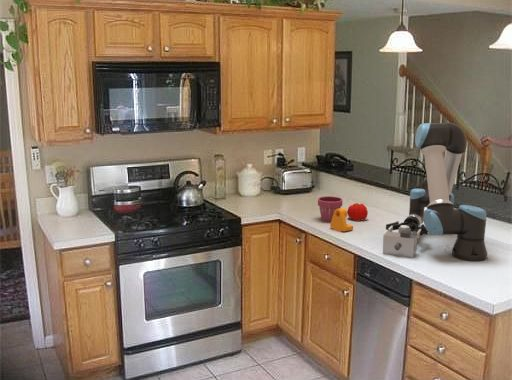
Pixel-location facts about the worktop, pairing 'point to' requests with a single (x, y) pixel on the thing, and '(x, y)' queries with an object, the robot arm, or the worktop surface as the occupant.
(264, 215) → the worktop surface
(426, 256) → the worktop surface
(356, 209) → the tomato
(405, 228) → the grey cylinder
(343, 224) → the bracket
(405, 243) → the grey toy camera
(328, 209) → the plant pot
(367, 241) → the worktop surface
